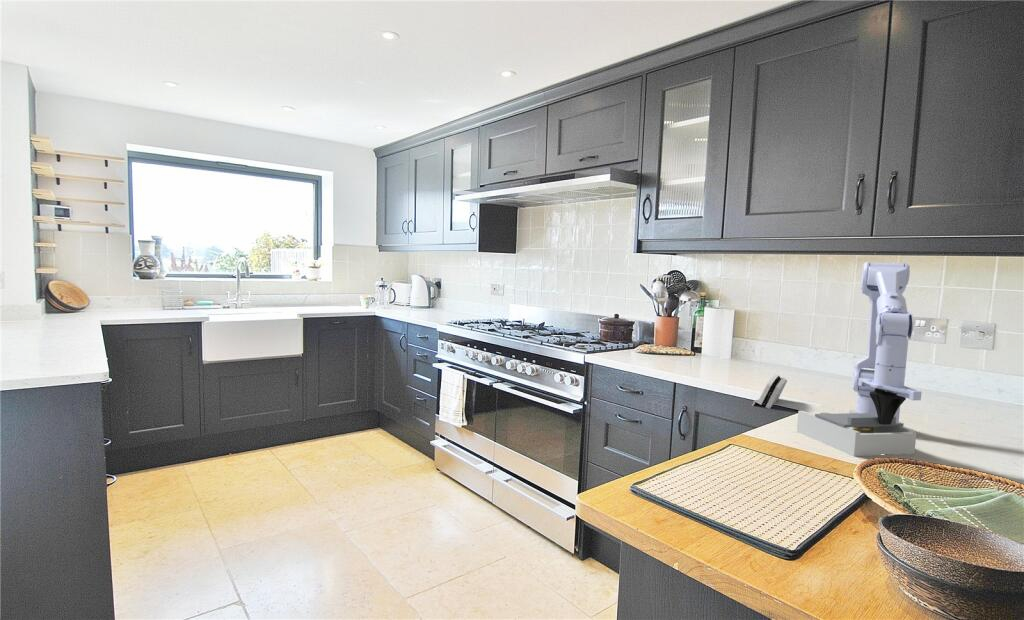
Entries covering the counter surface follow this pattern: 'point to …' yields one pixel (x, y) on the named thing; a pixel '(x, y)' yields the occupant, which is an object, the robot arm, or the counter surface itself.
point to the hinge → (771, 391)
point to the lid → (856, 420)
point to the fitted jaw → (864, 429)
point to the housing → (858, 437)
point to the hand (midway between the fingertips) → (884, 423)
